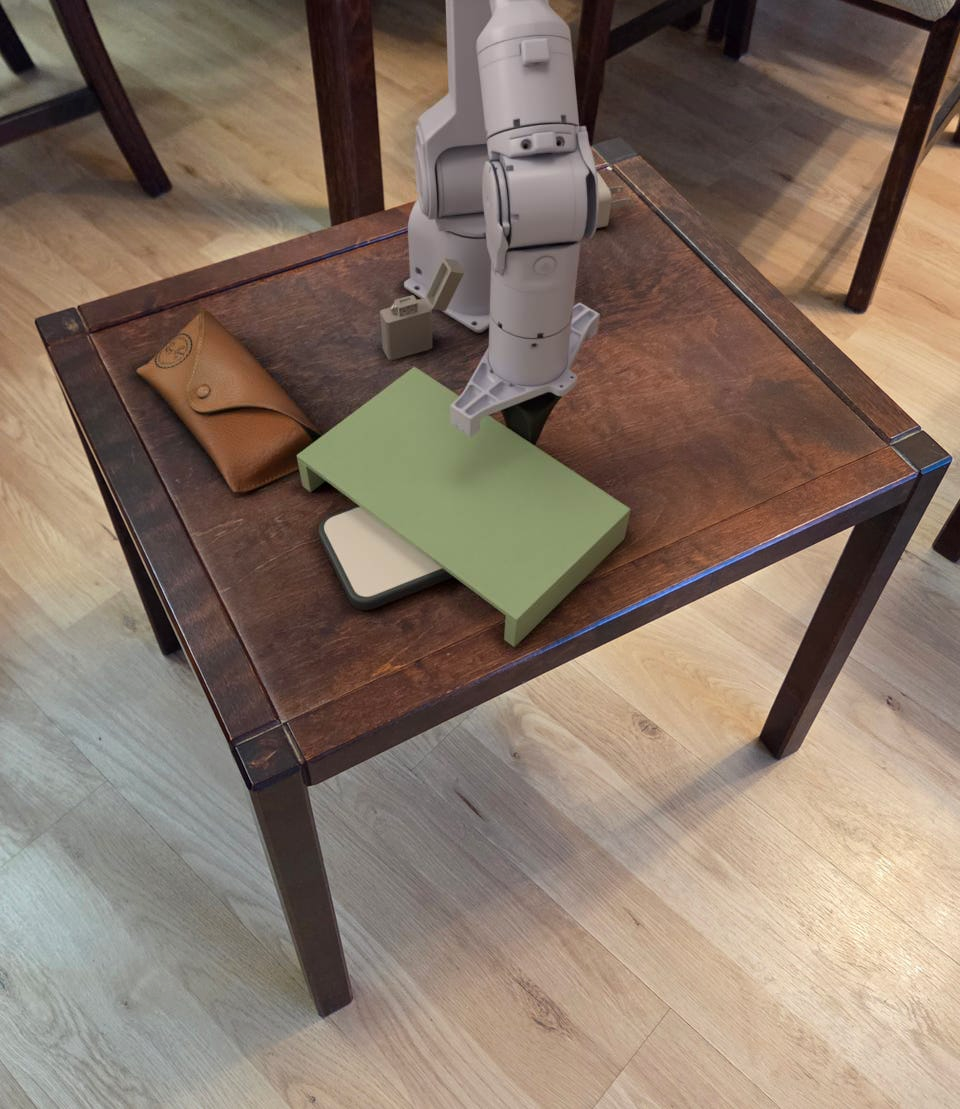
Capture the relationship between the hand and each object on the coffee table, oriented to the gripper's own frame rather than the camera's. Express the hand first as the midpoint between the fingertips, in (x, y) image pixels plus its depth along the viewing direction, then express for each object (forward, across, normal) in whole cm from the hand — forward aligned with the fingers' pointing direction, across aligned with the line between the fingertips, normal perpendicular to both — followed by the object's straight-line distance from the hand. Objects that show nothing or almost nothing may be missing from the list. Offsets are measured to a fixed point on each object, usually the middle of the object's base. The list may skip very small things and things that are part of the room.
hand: (521, 443), depth 83 cm
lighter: (+2, +4, +15) cm, 16 cm away
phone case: (+2, -10, 0) cm, 11 cm away
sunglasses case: (+2, -12, +21) cm, 25 cm away
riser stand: (+2, -7, 0) cm, 8 cm away
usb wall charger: (+2, +28, +15) cm, 32 cm away
